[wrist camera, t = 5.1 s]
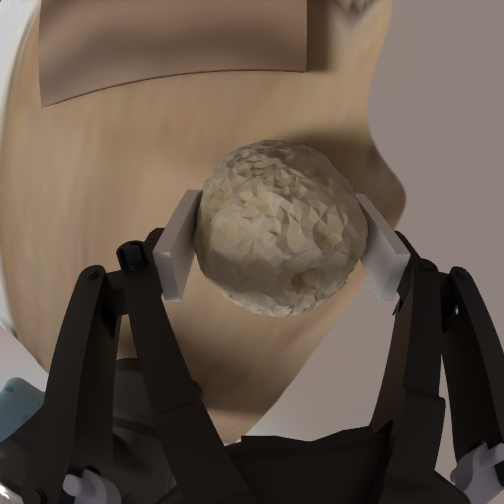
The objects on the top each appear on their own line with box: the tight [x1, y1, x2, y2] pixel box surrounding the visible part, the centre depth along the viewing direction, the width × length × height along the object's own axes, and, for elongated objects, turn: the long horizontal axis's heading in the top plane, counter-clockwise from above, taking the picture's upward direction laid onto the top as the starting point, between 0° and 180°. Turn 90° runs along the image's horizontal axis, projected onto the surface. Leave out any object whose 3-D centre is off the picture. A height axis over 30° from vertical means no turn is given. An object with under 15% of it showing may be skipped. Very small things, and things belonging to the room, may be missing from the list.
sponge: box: [194, 140, 368, 317], centre depth 14 cm, size 9×10×10 cm
